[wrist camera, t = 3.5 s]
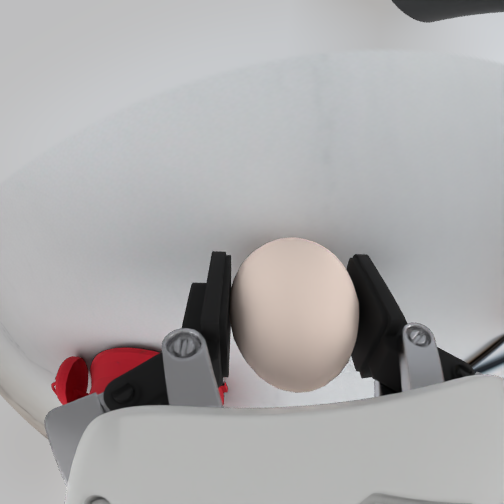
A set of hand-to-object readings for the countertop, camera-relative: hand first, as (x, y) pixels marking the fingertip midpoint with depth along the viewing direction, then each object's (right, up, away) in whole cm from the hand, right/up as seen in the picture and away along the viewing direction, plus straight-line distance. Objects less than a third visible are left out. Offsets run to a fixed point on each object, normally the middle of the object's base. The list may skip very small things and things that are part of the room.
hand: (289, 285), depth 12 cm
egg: (0, +1, +2) cm, 2 cm away
